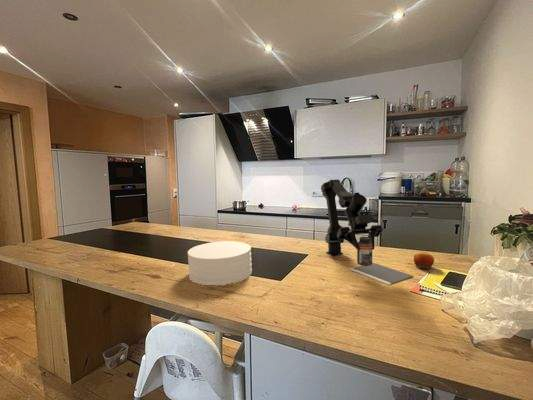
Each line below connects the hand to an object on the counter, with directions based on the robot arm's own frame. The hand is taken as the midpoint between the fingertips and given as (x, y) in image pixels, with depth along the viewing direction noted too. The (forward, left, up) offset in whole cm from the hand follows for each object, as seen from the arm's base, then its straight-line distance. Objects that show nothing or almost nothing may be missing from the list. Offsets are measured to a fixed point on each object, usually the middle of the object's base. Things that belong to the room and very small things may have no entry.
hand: (366, 249), depth 110 cm
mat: (-1, +10, -12) cm, 16 cm away
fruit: (+5, +31, -12) cm, 34 cm away
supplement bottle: (-1, +1, -7) cm, 7 cm away
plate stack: (-40, -49, -13) cm, 64 cm away
